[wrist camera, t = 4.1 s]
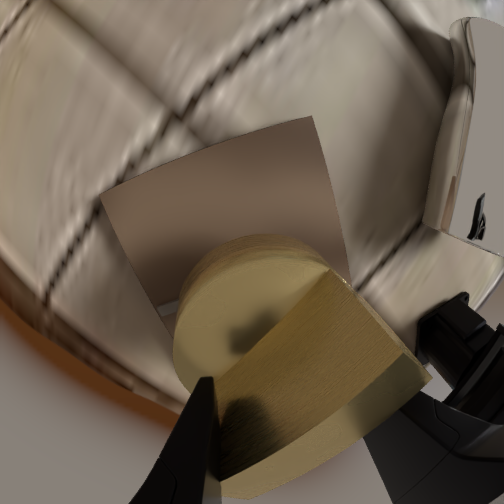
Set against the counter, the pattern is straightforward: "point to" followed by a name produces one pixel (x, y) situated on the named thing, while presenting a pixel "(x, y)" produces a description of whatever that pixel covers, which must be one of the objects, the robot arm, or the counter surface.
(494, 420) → the robot arm
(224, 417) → the cap
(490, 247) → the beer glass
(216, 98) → the counter surface
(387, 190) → the counter surface
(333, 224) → the base
